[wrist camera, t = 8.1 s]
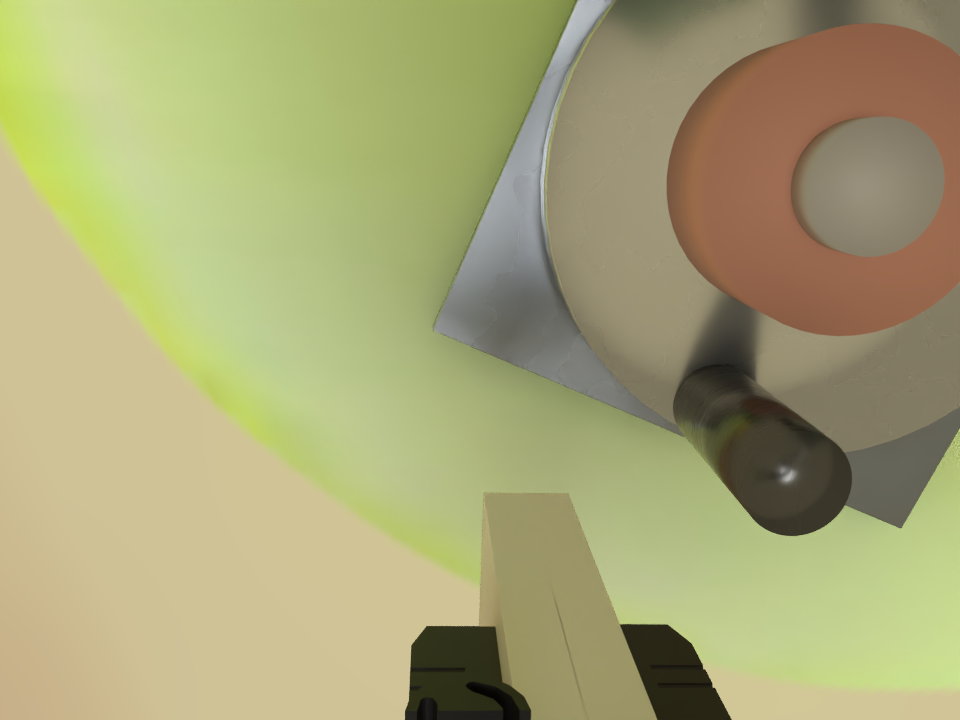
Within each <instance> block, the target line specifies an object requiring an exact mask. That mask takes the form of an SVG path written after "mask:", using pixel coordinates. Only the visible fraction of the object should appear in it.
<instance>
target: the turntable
mask: <svg viewBox="0 0 960 720" xmlns="http://www.w3.org/2000/svg"><path fill="white" fill-rule="evenodd" d="M865 23H880V24H889V25H897V26H901V27H905V28H909V29H913V30H916V31H918V32H921V33H923V34H926V35H928V36H930V37H933V38H935V39H936V40H938V41H940V42H941V43H943V44H944V45H946V46H948V47H949V48H951V49H952V50H953V51H954V52H956V53H957V54H958V55H959V56H960V0H613V1H612V2H611V4H610V5H609V6H608V7H607V8H606V9H605V10H604V12H603V13H602V15H601V16H600V17H599V19H598V20H597V22H596V23H595V25H594V26H593V28H592V29H591V30H590V32H589V33H588V35H587V36H586V38H585V39H584V41H583V42H582V44H581V46H580V48H579V50H578V52H577V54H576V56H575V58H574V60H573V61H572V63H571V65H570V67H569V69H568V71H567V73H566V75H565V78H564V80H563V83H562V86H561V88H560V91H559V94H558V96H557V99H556V102H555V105H554V107H553V110H552V114H551V118H550V123H549V127H548V131H547V135H546V140H545V144H544V152H543V161H542V171H541V180H540V186H541V218H542V225H543V231H544V238H545V244H546V251H547V254H548V258H549V261H550V264H551V268H552V271H553V275H554V278H555V281H556V284H557V287H558V289H559V291H560V293H561V296H562V298H563V300H564V302H565V305H566V307H567V309H568V311H569V314H570V315H571V317H572V318H573V320H574V322H575V323H576V325H577V327H578V328H579V330H580V331H581V333H582V335H583V336H584V338H585V339H586V341H587V342H588V344H589V345H590V347H591V348H592V349H593V351H594V352H595V353H596V355H597V356H598V357H599V358H600V360H601V361H602V362H603V363H604V364H605V366H606V367H607V368H608V369H609V370H610V372H611V373H612V374H613V375H614V377H615V378H616V379H617V380H618V381H619V382H620V383H621V384H622V385H623V386H624V387H626V388H627V389H628V390H629V391H630V392H631V393H632V394H633V395H634V396H635V397H636V398H638V399H639V400H640V401H641V402H642V403H643V404H645V405H646V406H648V407H649V408H650V409H652V410H653V411H655V412H656V413H658V414H659V415H661V416H662V417H663V418H665V419H666V420H668V421H669V422H671V423H673V424H675V425H677V426H678V428H679V429H680V431H681V432H682V433H683V434H684V436H685V437H686V438H687V439H688V441H689V442H690V443H691V444H692V445H693V447H694V448H695V449H696V450H697V451H698V453H699V454H700V455H701V456H702V457H703V459H704V460H705V461H706V462H707V464H708V465H709V466H710V467H711V468H712V470H713V471H714V472H715V473H716V474H717V476H718V477H719V478H720V479H721V480H722V482H723V483H724V484H725V485H726V486H727V488H728V489H729V490H730V491H731V493H732V494H733V495H734V496H735V497H736V499H737V500H738V501H739V502H740V503H741V505H742V506H743V507H744V508H745V509H746V511H747V512H748V513H749V514H750V516H751V517H752V518H753V519H754V520H755V521H756V522H757V523H758V524H759V525H760V526H762V527H763V528H765V529H766V530H768V531H770V532H773V533H776V534H780V535H786V536H798V535H804V534H808V533H811V532H814V531H816V530H818V529H820V528H822V527H824V526H825V525H827V524H828V523H829V522H831V521H832V520H833V519H834V518H835V517H836V516H837V515H838V514H839V513H840V511H841V510H842V509H843V507H844V505H845V504H846V502H847V500H848V497H849V494H850V491H851V486H852V471H851V466H850V463H849V461H848V458H847V456H846V455H845V453H844V452H850V451H856V450H861V449H866V448H869V447H872V446H875V445H879V444H882V443H885V442H889V441H892V440H895V439H898V438H900V437H903V436H905V435H907V434H909V433H912V432H914V431H916V430H919V429H921V428H923V427H925V426H928V425H930V424H932V423H933V422H935V421H937V420H938V419H940V418H942V417H943V416H945V415H947V414H949V413H950V412H952V411H954V410H955V409H957V408H959V407H960V282H959V283H958V284H957V285H956V286H955V287H954V288H953V289H952V290H951V291H950V292H949V293H948V294H947V295H946V296H944V297H943V298H942V299H941V300H939V301H938V302H937V303H935V304H934V305H933V306H931V307H930V308H929V309H927V310H925V311H923V312H922V313H920V314H918V315H917V316H915V317H913V318H912V319H909V320H907V321H905V322H903V323H900V324H898V325H896V326H893V327H890V328H887V329H884V330H880V331H877V332H872V333H867V334H861V335H853V336H829V335H818V334H814V333H809V332H805V331H800V330H798V329H795V328H792V327H789V326H787V325H784V324H782V323H780V322H778V321H776V320H774V319H772V318H771V317H769V316H767V315H765V314H763V313H761V312H759V311H757V310H755V309H754V308H752V307H750V306H748V305H746V304H744V303H742V302H740V301H738V300H737V299H735V298H733V297H731V296H729V295H727V294H725V293H724V292H722V291H720V290H719V289H718V288H716V287H715V286H714V285H712V284H711V283H709V282H708V281H707V280H706V279H705V278H704V277H703V276H702V275H701V274H700V273H699V272H698V271H697V270H696V268H695V267H694V266H693V265H692V263H691V262H690V261H689V259H688V258H687V256H686V255H685V253H684V251H683V249H682V248H681V246H680V244H679V242H678V240H677V237H676V235H675V232H674V230H673V227H672V223H671V219H670V215H669V211H668V202H667V171H668V164H669V158H670V154H671V150H672V146H673V143H674V140H675V137H676V135H677V132H678V130H679V127H680V125H681V123H682V121H683V119H684V118H685V116H686V114H687V112H688V110H689V109H690V107H691V106H692V104H693V103H694V102H695V100H696V99H697V98H698V96H699V95H700V93H701V92H702V91H703V90H704V89H705V88H706V87H707V86H708V85H709V84H710V83H711V82H712V81H713V80H714V79H715V78H716V77H717V76H718V75H720V74H721V73H722V72H723V71H724V70H726V69H727V68H728V67H730V66H731V65H733V64H734V63H736V62H738V61H739V60H741V59H742V58H744V57H746V56H748V55H750V54H753V53H755V52H757V51H759V50H762V49H765V48H768V47H771V46H774V45H777V44H781V43H784V42H788V41H791V40H794V39H798V38H801V37H804V36H808V35H811V34H814V33H818V32H821V31H824V30H828V29H831V28H835V27H840V26H846V25H852V24H865Z"/></svg>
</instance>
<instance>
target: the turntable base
mask: <svg viewBox="0 0 960 720" xmlns="http://www.w3.org/2000/svg"><path fill="white" fill-rule="evenodd" d="M612 1H613V0H576V1H575V3H574V5H573V8H572V10H571V12H570V15H569V17H568V19H567V21H566V24H565V26H564V28H563V30H562V33H561V35H560V37H559V40H558V42H557V44H556V46H555V49H554V51H553V53H552V56H551V58H550V60H549V62H548V65H547V67H546V69H545V72H544V74H543V76H542V78H541V81H540V83H539V85H538V87H537V90H536V92H535V94H534V97H533V99H532V101H531V103H530V106H529V108H528V110H527V113H526V115H525V117H524V119H523V122H522V124H521V126H520V129H519V131H518V133H517V135H516V138H515V140H514V142H513V145H512V147H511V149H510V151H509V154H508V156H507V158H506V160H505V163H504V165H503V167H502V170H501V172H500V174H499V176H498V179H497V181H496V183H495V186H494V188H493V190H492V192H491V195H490V197H489V199H488V202H487V204H486V206H485V208H484V211H483V213H482V215H481V217H480V220H479V222H478V224H477V227H476V229H475V231H474V233H473V236H472V238H471V240H470V243H469V245H468V247H467V249H466V252H465V254H464V256H463V259H462V261H461V263H460V265H459V268H458V270H457V272H456V275H455V277H454V279H453V281H452V284H451V286H450V288H449V290H448V293H447V295H446V297H445V300H444V302H443V304H442V306H441V309H440V311H439V313H438V316H437V318H436V320H435V322H434V325H433V331H436V332H438V333H440V334H443V335H445V336H447V337H450V338H452V339H455V340H457V341H459V342H462V343H464V344H466V345H469V346H471V347H473V348H476V349H478V350H481V351H483V352H485V353H488V354H490V355H492V356H495V357H497V358H499V359H502V360H504V361H507V362H509V363H511V364H514V365H516V366H518V367H521V368H523V369H525V370H528V371H530V372H532V373H535V374H537V375H540V376H542V377H544V378H547V379H549V380H551V381H554V382H556V383H558V384H561V385H563V386H566V387H568V388H570V389H573V390H575V391H577V392H580V393H582V394H584V395H587V396H589V397H592V398H594V399H596V400H599V401H601V402H603V403H606V404H608V405H610V406H613V407H615V408H617V409H620V410H622V411H625V412H627V413H629V414H632V415H634V416H636V417H639V418H641V419H643V420H646V421H648V422H651V423H653V424H655V425H658V426H660V427H662V428H665V429H667V430H669V431H672V432H674V433H677V434H679V435H681V436H684V434H683V433H682V432H681V431H680V429H679V428H678V426H677V425H675V424H673V423H671V422H669V421H668V420H666V419H665V418H663V417H662V416H661V415H659V414H658V413H656V412H655V411H653V410H652V409H650V408H649V407H648V406H646V405H645V404H643V403H642V402H641V401H640V400H639V399H638V398H636V397H635V396H634V395H633V394H632V393H631V392H630V391H629V390H628V389H627V388H626V387H624V386H623V385H622V384H621V383H620V382H619V381H618V380H617V379H616V378H615V377H614V375H613V374H612V373H611V372H610V370H609V369H608V368H607V367H606V366H605V364H604V363H603V362H602V361H601V360H600V358H599V357H598V356H597V355H596V353H595V352H594V351H593V349H592V348H591V347H590V345H589V344H588V342H587V341H586V339H585V338H584V336H583V335H582V333H581V331H580V330H579V328H578V327H577V325H576V323H575V322H574V320H573V318H572V317H571V315H570V314H569V311H568V309H567V307H566V305H565V302H564V300H563V298H562V296H561V293H560V291H559V289H558V287H557V284H556V281H555V278H554V275H553V271H552V268H551V264H550V261H549V258H548V254H547V251H546V244H545V238H544V231H543V225H542V218H541V186H540V180H541V171H542V161H543V152H544V144H545V140H546V135H547V131H548V127H549V123H550V118H551V114H552V110H553V107H554V105H555V102H556V99H557V96H558V94H559V91H560V88H561V86H562V83H563V80H564V78H565V75H566V73H567V71H568V69H569V67H570V65H571V63H572V61H573V60H574V58H575V56H576V54H577V52H578V50H579V48H580V46H581V44H582V42H583V41H584V39H585V38H586V36H587V35H588V33H589V32H590V30H591V29H592V28H593V26H594V25H595V23H596V22H597V20H598V19H599V17H600V16H601V15H602V13H603V12H604V10H605V9H606V8H607V7H608V6H609V5H610V4H611V2H612ZM959 428H960V407H959V408H957V409H955V410H954V411H952V412H950V413H949V414H947V415H945V416H943V417H942V418H940V419H938V420H937V421H935V422H933V423H932V424H930V425H928V426H925V427H923V428H921V429H919V430H916V431H914V432H912V433H909V434H907V435H905V436H903V437H900V438H898V439H895V440H892V441H889V442H885V443H882V444H879V445H875V446H872V447H869V448H866V449H861V450H856V451H850V452H844V453H845V455H846V456H847V458H848V461H849V463H850V466H851V471H852V486H851V491H850V494H849V497H848V500H847V502H846V504H845V505H846V506H849V507H851V508H854V509H856V510H858V511H861V512H863V513H865V514H868V515H870V516H872V517H875V518H877V519H880V520H882V521H884V522H887V523H889V524H891V525H894V526H896V527H898V528H902V526H903V524H904V523H905V521H906V519H907V517H908V516H909V514H910V512H911V511H912V509H913V507H914V505H915V504H916V502H917V500H918V499H919V497H920V495H921V493H922V492H923V490H924V488H925V487H926V485H927V483H928V481H929V480H930V478H931V476H932V475H933V473H934V471H935V469H936V468H937V466H938V464H939V463H940V461H941V459H942V457H943V456H944V454H945V452H946V451H947V449H948V447H949V445H950V444H951V442H952V440H953V439H954V437H955V435H956V433H957V432H958V430H959ZM684 437H685V436H684Z"/></svg>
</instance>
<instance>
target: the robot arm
mask: <svg viewBox="0 0 960 720" xmlns="http://www.w3.org/2000/svg"><path fill="white" fill-rule="evenodd" d="M410 669H411V670H410V691H409V702H408V705H407V708H406V710H405V720H731V718H730V716H729V714H728V712H727V710H726V708H725V706H724V704H723V703H722V701H721V699H720V697H719V695H718V693H717V691H716V689H715V688H713V687H712V682H711V680H710V678H709V676H708V674H707V672H706V670H703V665H702V663H701V661H700V659H699V657H698V655H697V653H696V651H695V649H694V647H693V646H692V644H691V643H690V642H689V641H688V640H686V639H685V638H684V637H683V636H681V635H680V634H679V633H678V632H676V631H675V630H674V629H672V628H671V627H670V626H669V625H647V624H619V622H618V619H617V617H616V614H615V611H614V609H613V606H612V604H611V601H610V599H609V596H608V594H607V591H606V589H605V586H604V584H603V581H602V579H601V576H600V574H599V571H598V568H597V566H596V563H595V561H594V558H593V556H592V553H591V551H590V548H589V546H588V543H587V541H586V538H585V536H584V533H583V531H582V528H581V525H580V523H579V520H578V518H577V515H576V513H575V510H574V508H573V505H572V503H571V500H570V498H569V495H568V494H557V493H484V500H483V528H482V556H481V584H480V612H479V626H427V627H426V628H425V629H424V630H423V632H422V633H421V634H420V635H419V637H418V638H417V639H416V640H415V642H414V643H413V644H412V646H411V668H410Z"/></svg>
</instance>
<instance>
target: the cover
mask: <svg viewBox="0 0 960 720" xmlns="http://www.w3.org/2000/svg"><path fill="white" fill-rule="evenodd" d="M667 202H668V211H669V215H670V219H671V223H672V227H673V230H674V232H675V235H676V237H677V240H678V242H679V244H680V246H681V248H682V249H683V251H684V253H685V255H686V256H687V258H688V259H689V261H690V262H691V263H692V265H693V266H694V267H695V268H696V270H697V271H698V272H699V273H700V274H701V275H702V276H703V277H704V278H705V279H706V280H707V281H708V282H709V283H711V284H712V285H714V286H715V287H716V288H718V289H719V290H720V291H722V292H724V293H725V294H727V295H729V296H731V297H733V298H735V299H737V300H738V301H740V302H742V303H744V304H746V305H748V306H750V307H752V308H754V309H755V310H757V311H759V312H761V313H763V314H765V315H767V316H769V317H771V318H772V319H774V320H776V321H778V322H780V323H782V324H784V325H787V326H789V327H792V328H795V329H798V330H800V331H805V332H809V333H814V334H818V335H829V336H853V335H861V334H867V333H872V332H877V331H880V330H884V329H887V328H890V327H893V326H896V325H898V324H900V323H903V322H905V321H907V320H909V319H912V318H913V317H915V316H917V315H918V314H920V313H922V312H923V311H925V310H927V309H929V308H930V307H931V306H933V305H934V304H935V303H937V302H938V301H939V300H941V299H942V298H943V297H944V296H946V295H947V294H948V293H949V292H950V291H951V290H952V289H953V288H954V287H955V286H956V285H957V284H958V283H959V282H960V56H959V55H958V54H957V53H956V52H954V51H953V50H952V49H951V48H949V47H948V46H946V45H944V44H943V43H941V42H940V41H938V40H936V39H935V38H933V37H930V36H928V35H926V34H923V33H921V32H918V31H916V30H913V29H909V28H905V27H901V26H897V25H889V24H880V23H865V24H852V25H846V26H840V27H835V28H831V29H828V30H824V31H821V32H818V33H814V34H811V35H808V36H804V37H801V38H798V39H794V40H791V41H788V42H784V43H781V44H777V45H774V46H771V47H768V48H765V49H762V50H759V51H757V52H755V53H753V54H750V55H748V56H746V57H744V58H742V59H741V60H739V61H738V62H736V63H734V64H733V65H731V66H730V67H728V68H727V69H726V70H724V71H723V72H722V73H721V74H720V75H718V76H717V77H716V78H715V79H714V80H713V81H712V82H711V83H710V84H709V85H708V86H707V87H706V88H705V89H704V90H703V91H702V92H701V93H700V95H699V96H698V98H697V99H696V100H695V102H694V103H693V104H692V106H691V107H690V109H689V110H688V112H687V114H686V116H685V118H684V119H683V121H682V123H681V125H680V127H679V130H678V132H677V135H676V137H675V140H674V143H673V146H672V150H671V154H670V158H669V164H668V171H667Z"/></svg>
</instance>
